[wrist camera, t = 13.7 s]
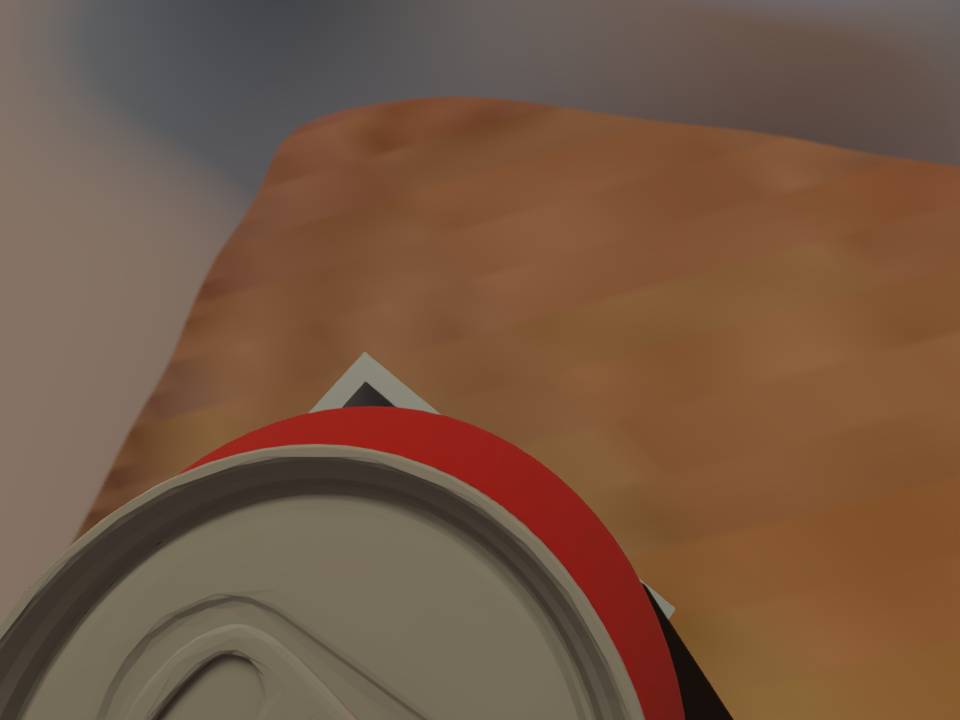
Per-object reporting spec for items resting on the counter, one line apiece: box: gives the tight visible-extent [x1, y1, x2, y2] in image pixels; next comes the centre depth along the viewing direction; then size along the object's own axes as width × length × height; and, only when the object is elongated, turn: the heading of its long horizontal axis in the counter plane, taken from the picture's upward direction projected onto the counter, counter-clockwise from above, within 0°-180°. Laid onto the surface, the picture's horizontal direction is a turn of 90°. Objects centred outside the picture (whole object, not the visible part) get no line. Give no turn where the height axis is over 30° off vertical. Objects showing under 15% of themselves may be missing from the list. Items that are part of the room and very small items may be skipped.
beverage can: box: [0, 406, 685, 720], centre depth 9 cm, size 7×7×12 cm
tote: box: [309, 352, 676, 620], centre depth 18 cm, size 18×14×5 cm
